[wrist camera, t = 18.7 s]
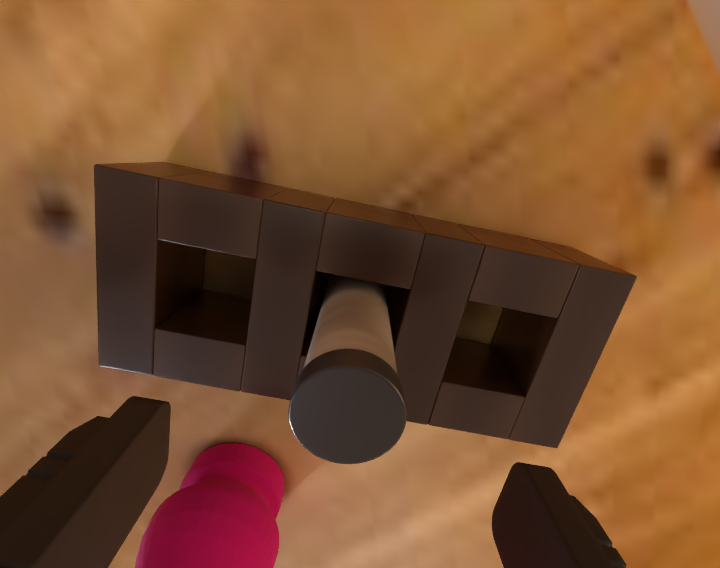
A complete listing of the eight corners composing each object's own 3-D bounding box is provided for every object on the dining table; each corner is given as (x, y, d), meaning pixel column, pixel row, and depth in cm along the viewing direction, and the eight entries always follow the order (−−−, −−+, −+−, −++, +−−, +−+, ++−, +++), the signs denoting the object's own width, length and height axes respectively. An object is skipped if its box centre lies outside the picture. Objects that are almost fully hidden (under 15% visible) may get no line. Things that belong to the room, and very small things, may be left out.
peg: (322, 306, 21) (280, 455, 11) (332, 251, 20) (297, 355, 10) (378, 317, 21) (392, 473, 11) (391, 263, 20) (420, 378, 10)
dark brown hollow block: (157, 319, 21) (97, 366, 17) (162, 161, 19) (92, 163, 14) (517, 387, 22) (557, 448, 18) (572, 247, 20) (638, 276, 15)
